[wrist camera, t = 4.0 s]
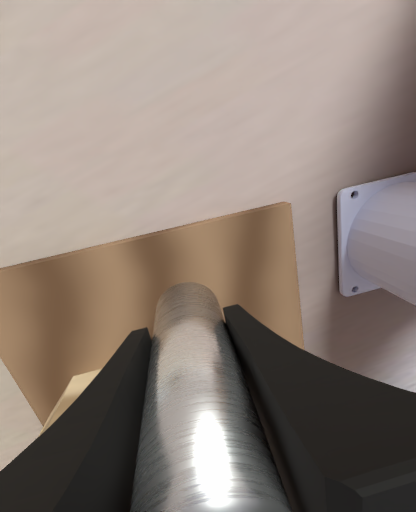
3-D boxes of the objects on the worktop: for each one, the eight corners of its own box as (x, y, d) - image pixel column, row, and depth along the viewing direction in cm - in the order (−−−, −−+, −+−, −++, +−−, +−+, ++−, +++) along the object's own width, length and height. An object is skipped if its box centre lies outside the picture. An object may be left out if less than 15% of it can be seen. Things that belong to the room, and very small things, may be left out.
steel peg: (212, 275, 11) (292, 478, 4) (224, 328, 12) (306, 575, 5) (148, 291, 11) (94, 539, 4) (165, 344, 12) (152, 626, 5)
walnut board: (283, 201, 16) (290, 203, 15) (304, 401, 22) (309, 411, 21) (-32, 276, 15) (-46, 282, 14) (80, 465, 21) (76, 479, 20)
